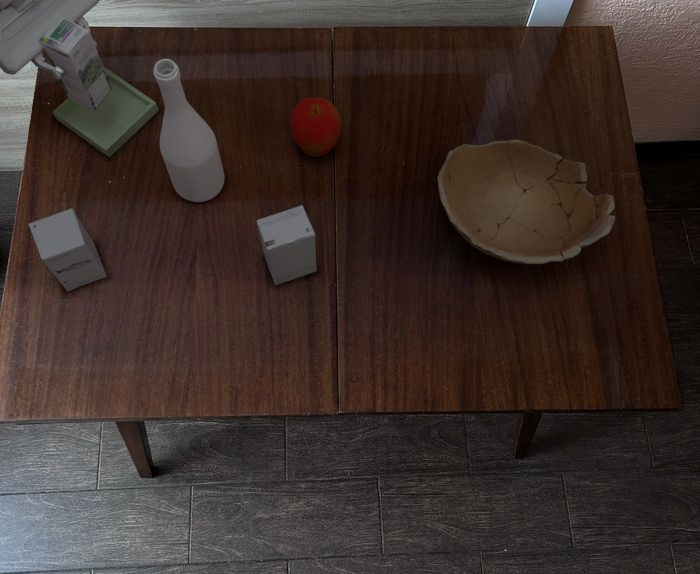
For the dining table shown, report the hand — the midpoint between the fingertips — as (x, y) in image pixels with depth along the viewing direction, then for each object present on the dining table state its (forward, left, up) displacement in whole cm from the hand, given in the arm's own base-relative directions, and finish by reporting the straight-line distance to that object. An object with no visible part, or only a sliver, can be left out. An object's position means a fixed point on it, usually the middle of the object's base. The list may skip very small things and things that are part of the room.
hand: (78, 62), depth 116 cm
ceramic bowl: (+64, -44, -17) cm, 80 cm away
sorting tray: (+1, +3, -17) cm, 17 cm away
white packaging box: (-12, -27, -17) cm, 34 cm away
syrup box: (0, +1, -9) cm, 9 cm away
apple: (+36, -17, -17) cm, 43 cm away
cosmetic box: (+23, -39, -17) cm, 49 cm away
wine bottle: (+13, -17, -17) cm, 28 cm away
